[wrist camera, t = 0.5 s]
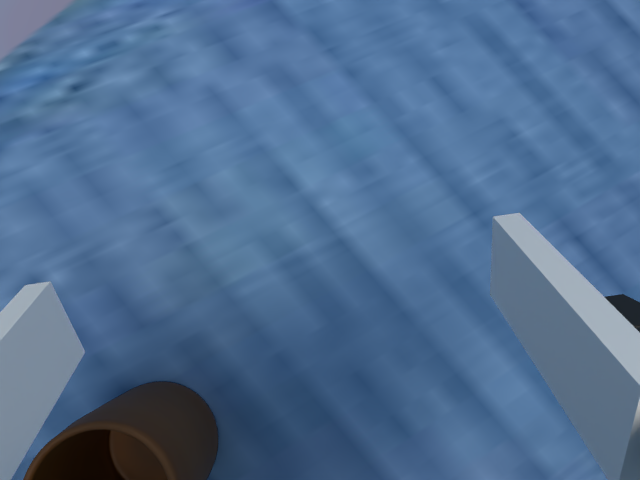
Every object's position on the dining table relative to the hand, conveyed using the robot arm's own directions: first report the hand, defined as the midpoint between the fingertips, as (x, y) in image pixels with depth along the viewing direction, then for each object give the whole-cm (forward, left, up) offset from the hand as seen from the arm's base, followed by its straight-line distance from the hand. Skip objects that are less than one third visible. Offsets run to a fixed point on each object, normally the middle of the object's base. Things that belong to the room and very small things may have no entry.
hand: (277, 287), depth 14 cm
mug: (-11, +9, -18) cm, 23 cm away
